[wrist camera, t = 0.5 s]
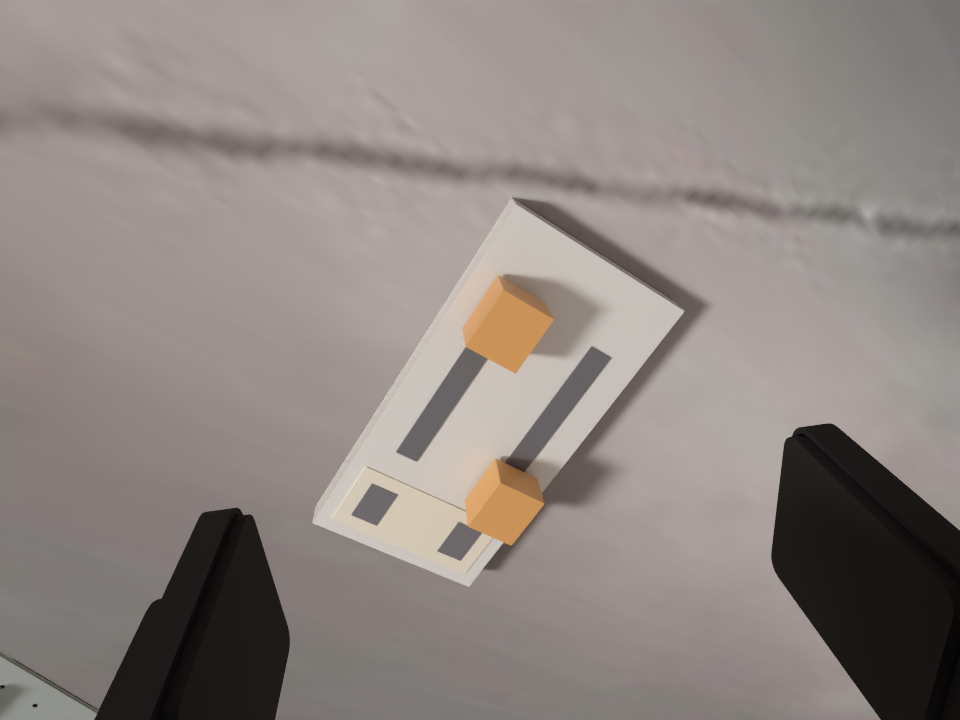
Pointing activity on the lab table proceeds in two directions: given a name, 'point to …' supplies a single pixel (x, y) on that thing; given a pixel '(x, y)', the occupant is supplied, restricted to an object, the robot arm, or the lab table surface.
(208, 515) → the robot arm
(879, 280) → the lab table surface
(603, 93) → the lab table surface
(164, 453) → the lab table surface
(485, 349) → the switch tab
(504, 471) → the switch tab
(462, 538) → the switch panel
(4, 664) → the metal bracket
